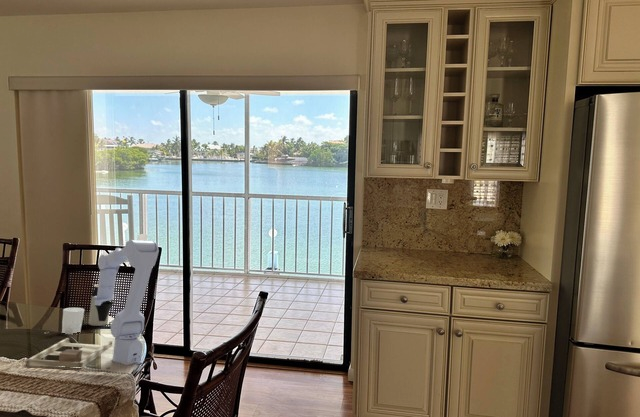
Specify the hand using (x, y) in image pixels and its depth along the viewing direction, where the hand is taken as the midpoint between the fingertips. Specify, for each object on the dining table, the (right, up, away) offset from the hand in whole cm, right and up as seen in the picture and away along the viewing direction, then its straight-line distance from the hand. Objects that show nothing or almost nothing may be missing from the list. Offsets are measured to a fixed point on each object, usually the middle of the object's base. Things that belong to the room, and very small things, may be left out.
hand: (102, 320), depth 167 cm
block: (+1, -8, -23) cm, 25 cm away
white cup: (-21, -9, +15) cm, 27 cm away
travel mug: (-19, -11, +33) cm, 40 cm away
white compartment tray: (-3, -9, -14) cm, 17 cm away
